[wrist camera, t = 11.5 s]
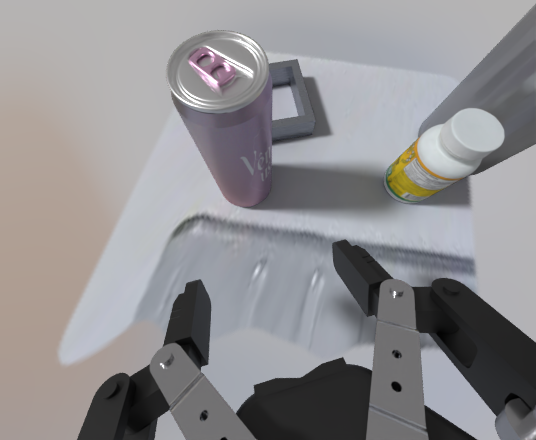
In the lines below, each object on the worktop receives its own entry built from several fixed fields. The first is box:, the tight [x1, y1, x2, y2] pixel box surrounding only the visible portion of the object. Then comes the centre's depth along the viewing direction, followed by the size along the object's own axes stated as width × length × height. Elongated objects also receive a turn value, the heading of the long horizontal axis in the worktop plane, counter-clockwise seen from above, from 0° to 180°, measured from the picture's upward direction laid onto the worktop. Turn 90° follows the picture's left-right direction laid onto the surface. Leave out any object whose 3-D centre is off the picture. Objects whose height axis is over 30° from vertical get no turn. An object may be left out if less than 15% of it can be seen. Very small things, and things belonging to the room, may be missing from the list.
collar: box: [269, 59, 316, 141], centre depth 28 cm, size 10×10×2 cm
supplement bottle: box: [384, 108, 505, 203], centre depth 22 cm, size 5×5×10 cm
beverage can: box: [166, 30, 272, 207], centre depth 19 cm, size 6×6×15 cm
